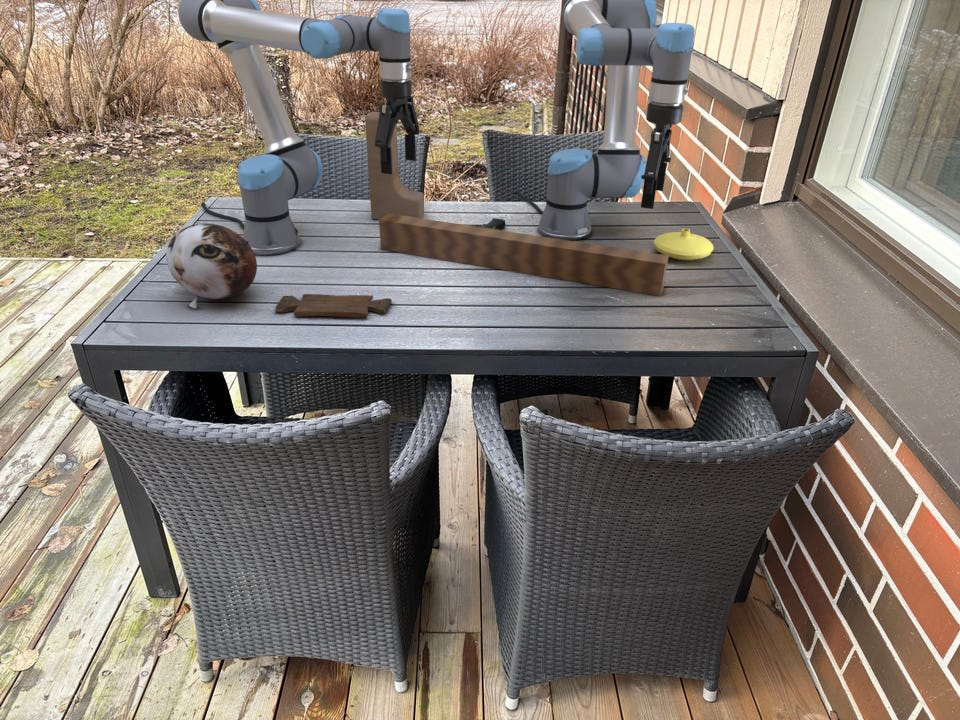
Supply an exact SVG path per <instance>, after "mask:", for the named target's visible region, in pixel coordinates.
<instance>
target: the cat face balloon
mask: <svg viewBox="0 0 960 720" xmlns="http://www.w3.org/2000/svg"><path fill="white" fill-rule="evenodd" d="M248 242H249V241H246V240H245V239H244V238H243V236H242V235H240V234H239V233H238V232H236V231H234V230H233V229H231V228H229V227H226V226H223V225H220V224H215V223H205V222H204V223H195V224H191V225H188V226H186V227H183V228H182V229H180V230H179V231H177V232H176V233H175V234H174V235H173V237H171V239H170V241H169V243H168V245H167V248H166V254H165V260H166V265H167V268H168V271H169V273H170V275H171V276H172V277H173V279H174V280H175V281H176V282H177V284H178V285H180V286H181V287H182V288H183V289H185V290H186V291H187V292H189V293H191V294H194V295H195V298H194V299H193V300H192V302H190V303H189V304H188V306H189V307H191V308H192V309H197V308H198V307H197V298H198V297H201V298H205V299H210V300H226V299H230V298H233V297H236V296H238V295H241V294H242V293H244V292H245V291H247V290H248V289H249V288H250V286H251V285H252V284H253V282H254V280H255V278H256V275H257V271H258V262H257V257H256V254H254V252H253V250H252V248H251V247H250V245H249V244H248Z"/></svg>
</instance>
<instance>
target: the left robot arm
mask: <svg viewBox="0 0 960 720" xmlns="http://www.w3.org/2000/svg"><path fill="white" fill-rule="evenodd" d="M177 12H178V19H179V22H180V25H181V27H182V28H183V30H184V31H185V32H186V34H188V35H189V36H190V37H191V38H193V39H195V40H197V41H200V42H207V43H215V44H216V46H217V48H218V50H219V52H221V53H223V54H224V55H226V56H227V57H228V59H229V61H230V64H231V66H232V68H233V70H234V74H235V75H236V78H237V80H238V83H239V85H240V87H241V90H242V92H243V94H244V97H245V98H246V102H247V104H248V106H249V109H250V110H251V113H252V115H253V118H254V120H255V122H256V125H257V127H258V129H259V132H260V134H261V136H262V139H263V141H264V144H265V149H264V151H263V154H259V155H257V156H256V155H254V156H251V157H248V158H246V159H244V160H243V161H241V162H240V164H239V165H238V168H237V174H238V179H237V182H238V185H239V190H240V197H241V202H242V203H241V204H242V208H243V212H244V213H243V215H244V219H245V220H244V223H243V221H242V220H241V219H240V218H237V217H236V216H231V215H226V214H222V213H218V212H217V211H212V210H211V209H209V208H207V206H206V203H205V202H201V207H202V208H203V210H204V211H205V212H206V213H208V214H210V215H213V216H215V217H218V218H222V219H227V220H231V221H235V222H237V223H238V224H239V226H240V227H241V228H242V229H243V235H242V237H243V238H244V239H245V240H246V241H249V242H248V244H249V245H250V247H251V248H252V250H253V252H254V254H255V256H256V255H257V256H275V255H281V254H282V255H283V254H285V253H289V252H291V251H293V250H296V249H297V248H298V247H299V246H300V244H301V241H300V235H299V231H298V229H297V228H296V227H295V225H294V223H293V220H292V218H291V216H290V207H289V201H291V200H293V199H295V198H298V197H299V196H301V195H304V194H307V193H309V192H311V191H312V190H313V189H315V188H316V187H318V185H319V184H320V183H321V181H322V178H323V174H324V167H323V162H322V159H321V157H320V156H319V154H318V153H317V151H314V150H313V149H312V148H311V147H308V146H307V144H306V141H305V139H303V138H302V137H300V136H297V134H296V132H295V129H294V128H293V127H294V126H293V124H292V122H291V120H290V116H289V114H288V112H287V109H286V107H285V105H284V103H283V100H282V97H281V95H280V93H279V89H278V88H277V85H276V83H275V80H274V78H273V74H272V73H271V70H270V68H269V66H268V63H267V61H266V58H265V56H264V53H263V51H262V48H261V46H263V47H268V48H273V49H281V50H287V51H292V52H299V53H305V54H307V55H309V57H311V58H313V59H316V60H317V59H318V60H320V59H324V60H325V59H327V60H328V59H330V58H333V57H337V56H340V55H344V54H345V55H346V54H349V53H354V52H359V51H360V52H361V51H362V52H363V51H364V52H374V53H378V57H379V58H378V59H379V78H380V79H381V81H380V95H381V97H382V98H385V100H386V102H385V104H379V108H378V110H379V111H378V112H379V120H378V126H377V132H376V138H375V146H376V147H380V157H381V173H384V174H392V155H391V147H389V145H390V142H391V139H392V135H393V132H394V128H395V125H396V124H398V123H399V121H400V122H401V124H402V127H403V129H404V131H405V134H404V154H405V155H404V156H405V157H404V159H405V160H406V161H412V162H415V161H416V160H417V152H416V150H417V149H416V148H417V147H416V145H417V144H416V136H419V135H420V124H419V120H418V115H417V112H416V108H415V105H414V104H415V103H414V96H413V91H412V90H413V89H412V84H413V83H412V81H411V80H410V79H411V78H412V70H413V67H412V59H411V32H412V28H411V23H410V22H411V21H410V14H409V12H408V10H406V9H403V8H390V7H387V8H379V9H378V10H377V12H376V13H377V14H376V16H363V15H353V14H340V15H336V16H335V18H333V19H320V18H313V17H308V16H307V17H306V16H300V15H299V16H298V15H293V14H286V13H280V12H274V11H273V12H272V11H266V10H262V9H261V7H260V4H259V2H258V1H257V0H180V2H179V5H178V11H177ZM205 206H206V207H205Z"/></svg>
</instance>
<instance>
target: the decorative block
mask: <svg viewBox="0 0 960 720" xmlns="http://www.w3.org/2000/svg"><path fill="white" fill-rule="evenodd" d="M378 120H379V111H371V112H369V113H368V114H367V115H366V116H365V117H364V124H365V125H364V126H365V139H366V156H367V170H368V172H367V173H368V184H369V201H370V216H371V219H374V220H380V219H381V218H383V217H384V216H386V215H387V214H396V215H402V216H409V217H416V218H422V217H423V216H424V214H425V194H424V193H423V192H421V191H417V190H412V189H409V188H408V187H406V186H405V185H404V184H403V182H402V179H401V177H400V173H399V172H400V171H399V151H398V150H399V149H398V147H399V146H398V129H397V124H398V123H397V124H396V125H395V128H394V132H393V135H392V139H391V142H390V145H389V147H391V155H392V174H384V173H381V157H380V147H376V146H375V138H376V132H377V126H378ZM422 219H423V218H422Z"/></svg>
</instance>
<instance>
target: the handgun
mask: <svg viewBox="0 0 960 720" xmlns="http://www.w3.org/2000/svg"><path fill="white" fill-rule="evenodd" d="M471 226H475V227H482V228H489V229H495V230H502V231H504V229H505V228H506V220H505V219H503V218H497V217H492V219H491V220H490V221H489V222H488V223H483V224H482V225H479V224H472V225H471Z"/></svg>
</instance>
